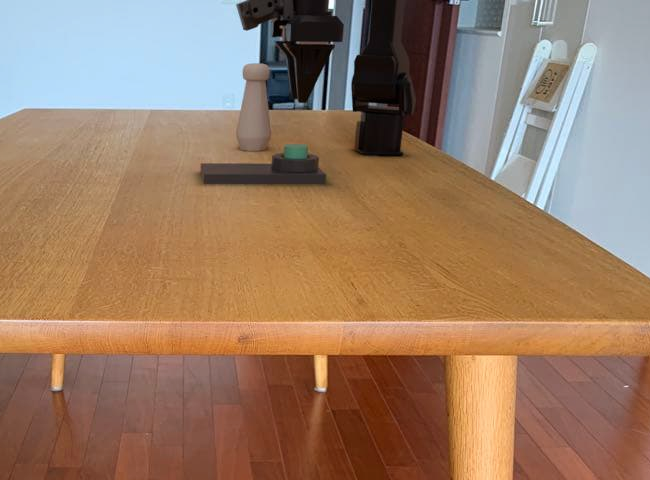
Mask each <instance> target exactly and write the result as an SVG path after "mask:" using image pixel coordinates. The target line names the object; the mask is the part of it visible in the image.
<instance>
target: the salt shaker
mask: <svg viewBox="0 0 650 480" xmlns="http://www.w3.org/2000/svg"><path fill="white" fill-rule="evenodd" d="M270 73H271V70H270V67H269V66H268V64H265V63H259V62H258V63H257V62H256V63H255V62H253V63H247V64H244V66H243V67H242V78H243V80H245V85H244V90H243V95H242V101H241V105H240V111H239V116H238V121H237V126H236V129H235V130H236V131H235V135H236V136H235V138H236V141H237V143H238V146H239V149H240V150H242V151H246V152H247V151H248V152H249V151H250V152H260V151H261V152H262V151H265V150H266V149H267V147H268V145H269V142H270V140H271V138H272V128H271V120H270V119H271V118H270V110H269V109H270V108H269V102H268V91H267V84H266V81H267V80H269V78H270Z"/></svg>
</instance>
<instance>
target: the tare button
mask: <svg viewBox="0 0 650 480" xmlns="http://www.w3.org/2000/svg"><path fill="white" fill-rule="evenodd" d="M283 153H284V156H283V157H284V158H292V159H304V158H307V155H308V154H309V145H307V144H303V143H287V144H284V145H283Z"/></svg>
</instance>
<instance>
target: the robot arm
mask: <svg viewBox="0 0 650 480" xmlns="http://www.w3.org/2000/svg"><path fill="white" fill-rule="evenodd" d="M405 2H406V0H371V4H370V15H369V16H370V17H369V18H370V19H369V30H368V41H367V43H366V45H365V47H364V48H363V50H362V51H361V53H360V54H357V55H356V56H355V58H354V61H353V74H352V78H351V82H350V83H351V85H350V89H351V90H350V91H351V106H352V112H354V113H357V112H359V113H360V119H359V120H357V121H356V125H355V137H354V150H355V151H357V152H359V153H360V155H363V156H403V155H404V152H405V151H402V149H401V147H402V139H403V131H404V123H405V117H406V116H412V115H414V111H415V109H416V103H417V96H416V93H415V88H414V85H413V80H412V76H411V74H410V67H411V66H410V65H411V64H410V62H411V61H410V60H411V59H410V57H409V55H408V54H407V51H406V50H405V47H404V45H403V43H402V34H403V23H404V14H405V13H404V12H405V5H406V3H405ZM329 5H330V0H244V1H241V2H239V3H237V4H235V6H236V9H237V12H238V16H239V20H240V24H241V26H242V30H243V31H246V32H247V31H250V30H253V29H256V28H258V27H259V25H261V24H264V23H267V22H269V38H279V40H273V43H274V45H275V46H276V47H277V48H278V49H279V50H280V51H281V52H282V53H283V54H284V57H285V63H286V68H287V70H286V71H287V75H288V83H289V90H290V97H291V99H293V100H297V102H298V103H299V104H306V103H308V101H309V99H310V97H311V95H312V94H313V93H312V92H313V91H314V88H315V86H316V84H317V82H318V80H319V78H320V76H321V74H322V71H323V69H324V68H325V65H326V64H327V62H328V59H329V58H330V55H331V54H332V52H333V51H334V49H335V47H336V44H334V43H343V40H344V28H345V24H344V23H343V22H342V20H341V18H339V17H338V15H332V11H329ZM371 104H372V105H371ZM373 104H380V105H373ZM381 104H382V105H381ZM384 105H385V106H384ZM387 105H392V106H387ZM393 105H395V106H393ZM397 105H398V106H397Z"/></svg>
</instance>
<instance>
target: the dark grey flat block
mask: <svg viewBox="0 0 650 480" xmlns="http://www.w3.org/2000/svg"><path fill="white" fill-rule="evenodd" d="M283 156H284V152H280V153H279V152H278V153H275V154H272V155H271V163H255V162H254V163H251V162H250V163H247V162H246V163H241V162H240V163H228V162H227V163H223V162H221V163H219V162H218V163H216V162H214V163H213V162H212V163H210V162H209V163H208V162H207V163H206V162H203V163H202V162H201V163H200V176H201V179H202V181H203V182H202V183H203V184H204V185H326V178H327V173H325V172H324V171H323V169H321V168H320V167H319V162H320V157H319V156H318V155H317V154H311V153H308V155H307V158H304V159H292V158H284V157H283Z"/></svg>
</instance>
